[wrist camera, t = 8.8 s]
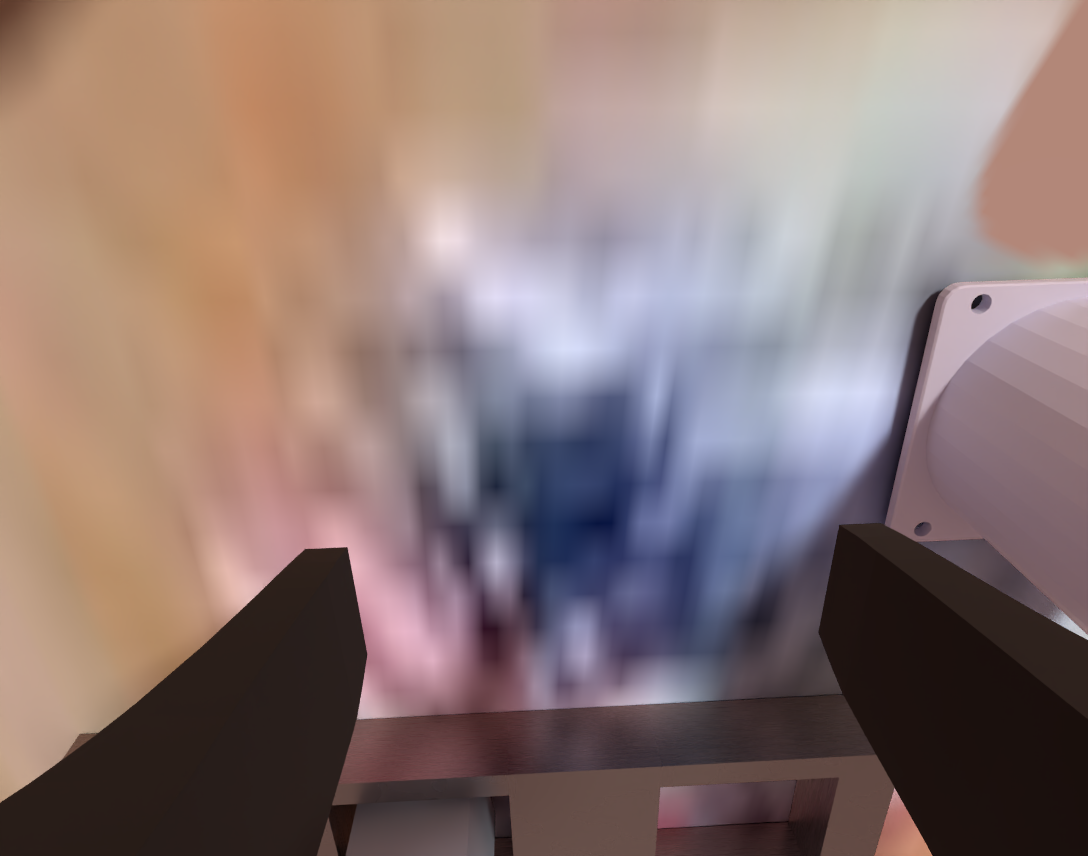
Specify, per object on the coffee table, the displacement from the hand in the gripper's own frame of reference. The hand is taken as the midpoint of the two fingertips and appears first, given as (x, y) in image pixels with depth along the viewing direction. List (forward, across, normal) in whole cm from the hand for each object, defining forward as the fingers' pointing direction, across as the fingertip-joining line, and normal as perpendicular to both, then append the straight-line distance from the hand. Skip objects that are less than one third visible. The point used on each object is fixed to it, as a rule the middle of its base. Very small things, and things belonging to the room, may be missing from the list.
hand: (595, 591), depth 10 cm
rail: (+9, +3, +17) cm, 20 cm away
